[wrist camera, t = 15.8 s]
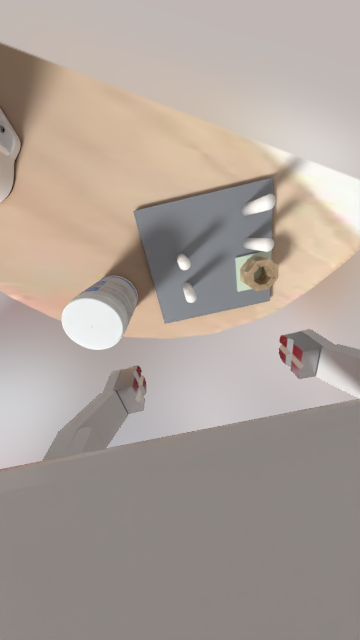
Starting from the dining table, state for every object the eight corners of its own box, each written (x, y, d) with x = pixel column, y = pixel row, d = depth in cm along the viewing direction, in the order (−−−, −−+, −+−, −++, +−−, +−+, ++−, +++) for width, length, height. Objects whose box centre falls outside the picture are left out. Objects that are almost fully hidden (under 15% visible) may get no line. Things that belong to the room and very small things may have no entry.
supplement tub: (108, 265, 37) (75, 282, 23) (146, 290, 40) (136, 318, 26) (88, 300, 40) (49, 332, 26) (125, 321, 43) (107, 359, 29)
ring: (239, 260, 36) (247, 263, 33) (267, 254, 36) (279, 256, 32) (240, 287, 39) (248, 293, 35) (267, 282, 39) (277, 286, 35)
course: (134, 211, 33) (123, 203, 24) (270, 179, 32) (305, 159, 24) (165, 321, 43) (164, 341, 35) (267, 299, 42) (291, 314, 34)
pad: (235, 257, 36) (236, 257, 36) (270, 249, 36) (271, 249, 36) (237, 291, 40) (238, 291, 39) (269, 284, 39) (270, 284, 39)
